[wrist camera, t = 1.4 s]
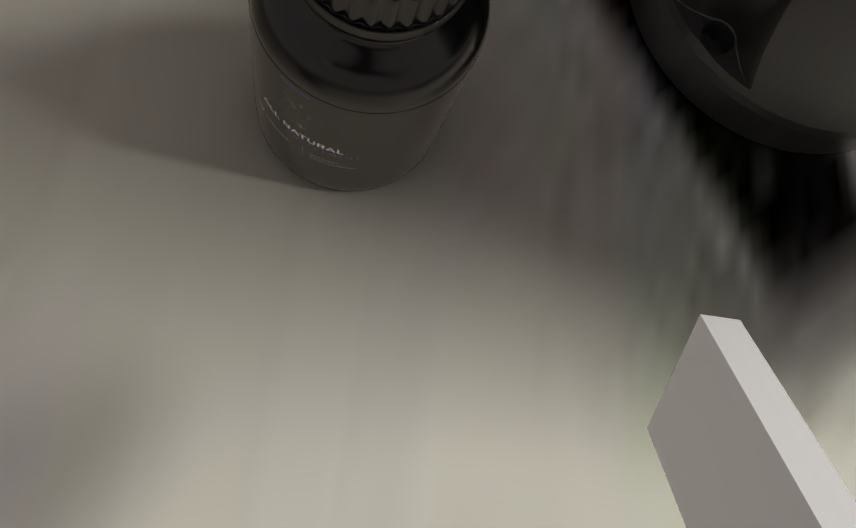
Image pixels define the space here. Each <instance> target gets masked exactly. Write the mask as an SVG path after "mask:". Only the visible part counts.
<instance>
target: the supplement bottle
mask: <svg viewBox="0 0 856 528" xmlns="http://www.w3.org/2000/svg"><path fill="white" fill-rule="evenodd" d="M249 13H250V28H251V42H252V57H253V71H254V86H255V99H256V107H257V113H258V118H259V122H260V125H261V128H262V131H263V133H264V136H265V138H266V140H267V142H268V143H269V145H270V147H271V148H272V150H273V151H274V152H275V154H276V155H277V156H278V157H279V159H280V160H281V161H282V162H283V163H284V164H285V165H286V166H288V167H289V168H290V169H291V170H292V171H294V172H295V173H297V174H298V175H300V176H301V177H303V178H305V179H307V180H308V181H311V182H313V183H315V184H318V185H321V186H324V187H327V188H331V189H336V190H344V191H360V190H368V189H373V188H377V187H380V186H383V185H386V184H388V183H391V182H393V181H395V180H397V179H398V178H400V177H402V176H403V175H404V174H406V173H407V172H408V171H410V170H411V169H412V168H413V167H414V166H415V165H416V164H417V163H418V162H419V160H420V159H421V158H422V157H423V156H424V154H425V153H426V151H427V150H428V148H429V146H430V145H431V143H432V141H433V140H434V138H435V136H436V134H437V132H438V130H439V129H440V127H441V125H442V123H443V121H444V119H445V117H446V115H447V114H448V112H449V110H450V108H451V106H452V104H453V102H454V100H455V99H456V97H457V95H458V93H459V91H460V89H461V87H462V85H463V84H464V82H465V80H466V78H467V76H468V74H469V72H470V70H471V68H472V67H473V65H474V63H475V61H476V59H477V57H478V55H479V52H480V50H481V48H482V45H483V43H484V40H485V37H486V33H487V30H488V25H489V19H490V0H249Z"/></svg>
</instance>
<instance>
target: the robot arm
mask: <svg viewBox="0 0 856 528" xmlns="http://www.w3.org/2000/svg"><path fill="white" fill-rule="evenodd" d="M630 4H631V7H632V11H633V14H634V17H635V20H636V22H637V25H638V28H639V30H640V32H641V34H642V37H643V39H644V41H645V43H646V45H647V46H648V48H649V50H650V52H651V54H652V55H653V57H654V58H655V60H656V62H657V63H658V65H659V66H660V67H661V69H662V70H663V72H664V73H665V74H666V76H667V77H668V78H669V79H670V80H671V82H672V83H673V84H674V85H675V86H676V87H677V88H678V89H679V91H680V92H681V93H682V94H683V95H684V96H685V97H686V98H687V99H689V100H690V101H691V102H692V103H693V104H694V105H695V106H696V107H698V108H699V109H700V110H701V111H702V112H704V113H705V114H706V115H708V116H709V117H710V118H712V119H713V120H715V121H716V122H718V123H719V124H721V125H722V126H724V127H726V128H727V129H729V130H731V131H733V132H735V133H736V134H738V135H740V136H743V137H745V138H747V139H749V140H751V141H754V142H757V143H759V144H762V145H765V146H768V147H772V148H775V149H779V150H784V151H788V152H795V153H802V154H833V153H841V152H847V151H851V150H855V149H856V0H630ZM647 428H648V431H649V433H650V436H651V439H652V441H653V444H654V446H655V449H656V451H657V454H658V456H659V459H660V461H661V464H662V467H663V469H664V472H665V474H666V477H667V479H668V482H669V484H670V487H671V490H672V492H673V495H674V497H675V500H676V502H677V505H678V507H679V510H680V513H681V515H682V518H683V520H684V523H685V525H686V528H856V501H855V499H854V498H853V496H852V495H851V493H850V492H849V490H848V488H847V487H846V485H845V484H844V482H843V481H842V479H841V477H840V476H839V474H838V473H837V471H836V470H835V468H834V466H833V465H832V463H831V462H830V460H829V459H828V457H827V455H826V454H825V452H824V451H823V449H822V448H821V446H820V444H819V443H818V441H817V440H816V438H815V437H814V435H813V433H812V432H811V430H810V429H809V427H808V426H807V424H806V422H805V421H804V419H803V418H802V416H801V415H800V413H799V411H798V410H797V408H796V407H795V405H794V404H793V402H792V400H791V399H790V397H789V396H788V394H787V393H786V391H785V389H784V388H783V386H782V385H781V383H780V382H779V380H778V378H777V377H776V375H775V374H774V372H773V371H772V369H771V367H770V366H769V364H768V363H767V361H766V360H765V358H764V356H763V355H762V353H761V352H760V350H759V349H758V347H757V345H756V344H755V342H754V341H753V339H752V338H751V336H750V334H749V333H748V331H747V330H746V328H745V327H744V325H743V323H742V322H741V320H737V319H730V318H723V317H716V316H709V315H702V314H700V316H699V318H698V320H697V322H696V324H695V326H694V329H693V331H692V333H691V335H690V337H689V339H688V341H687V344H686V346H685V348H684V350H683V352H682V354H681V356H680V359H679V361H678V363H677V365H676V367H675V369H674V371H673V374H672V376H671V378H670V380H669V382H668V384H667V387H666V389H665V391H664V393H663V395H662V397H661V399H660V402H659V404H658V406H657V408H656V410H655V412H654V414H653V417H652V419H651V421H650V423H649V425H648V427H647Z"/></svg>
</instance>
